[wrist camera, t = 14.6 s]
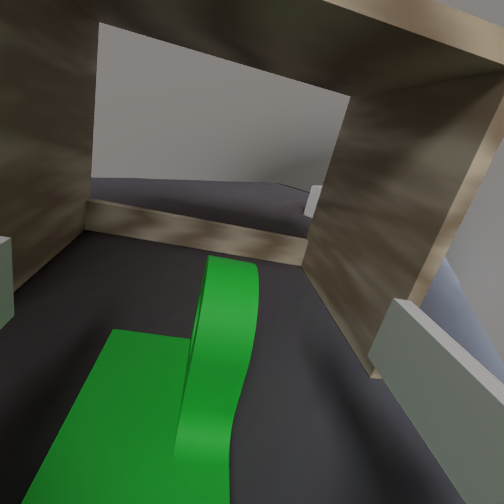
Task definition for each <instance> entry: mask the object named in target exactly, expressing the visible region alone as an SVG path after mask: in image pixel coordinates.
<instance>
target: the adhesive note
mask: <svg viewBox="0 0 504 504" xmlns="http://www.w3.org/2000/svg"><path fill="white" fill-rule="evenodd" d="M322 186H323V185H322ZM322 186H320V185H318V186H316V185H314V186H312V188H311V191H310V195H309V198H308V201H307V204H306V208H305V211H304V214H303V215H306V216H309V217H311V218H313V215H314V212H315V209H316V205H317V202H318V199H319V196H320V193H321V189H322Z"/></svg>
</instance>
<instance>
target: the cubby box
mask: <svg viewBox="0 0 504 504" xmlns="http://www.w3.org/2000/svg"><path fill="white" fill-rule="evenodd" d="M99 22H101V23H105V24H108V25H112V26H115V27H118V28H121V29H125V30H128V31H132V32H135V33H138V34H142V35H145V36H148V37H152V38H155V39H159V40H162V41H165V42H169V43H172V44H176V45H179V46H182V47H186V48H189V49H193V50H196V51H199V52H203V53H206V54H209V55H213V56H216V57H219V58H223V59H226V60H230V61H233V62H237V63H240V64H243V65H247V66H250V67H253V68H257V69H260V70H263V71H267V72H270V73H274V74H277V75H280V76H284V77H287V78H291V79H294V80H297V81H301V82H304V83H308V84H311V85H314V86H318V87H321V88H325V89H328V90H332V91H335V92H338V93H341V94H345V95H348V96H351V97H350V101H349V104H348V107H347V110H346V114H345V117H344V120H343V123H342V126H341V129H340V132H339V136H338V139H337V142H336V145H335V148H334V151H333V155H332V158H331V161H330V164H329V168H328V170H327V174H326V177H325V180H324V183H323V186H322V189H321V193H320V196H319V199H318V202H317V205H316V209H315V212H314V215H313V218H312V221H311V224H310V228H309V231H308V234H307V237H306V239H304V238H299V237H293V236H288V235H283V234H277V233H272V232H267V231H261V230H256V229H251V228H246V227H240V226H235V225H230V224H224V223H219V222H214V221H209V220H203V219H198V218H193V217H187V216H182V215H177V214H171V213H166V212H161V211H156V210H150V209H145V208H140V207H134V206H129V205H124V204H119V203H113V202H108V201H103V200H97V199H92V198H90V186H91V167H92V146H93V126H94V108H95V89H96V69H97V50H98V29H99ZM503 137H504V28H503V27H500V26H497V25H495V24H492V23H490V22H487V21H484V20H482V19H479V18H477V17H474V16H472V15H469V14H466V13H464V12H461V11H458V10H456V9H453V8H451V7H448V6H445V5H443V4H440V3H438V2H435V1H433V0H0V236H3V237H10V238H11V247H12V271H13V292H15V291H16V290H17V289H18V288H19V287H20V286H21V285H23V284H24V283H25V282H26V281H27V280H28V279H29V278H30V277H32V276H33V275H34V274H35V273H36V272H37V271H38V270H40V269H41V268H42V267H43V266H44V265H45V264H46V263H48V262H49V261H50V260H51V259H52V258H53V257H54V256H55V255H57V254H58V253H59V252H60V251H61V250H62V249H63V248H65V247H66V246H67V245H68V244H69V243H70V242H71V241H72V240H74V239H75V238H76V237H77V236H78V235H79V234H80V233H82V232H83V231H84V230H90V231H96V232H102V233H108V234H114V235H120V236H126V237H132V238H138V239H144V240H149V241H155V242H161V243H167V244H173V245H179V246H185V247H191V248H197V249H202V250H208V251H214V252H220V253H226V254H232V255H238V256H244V257H250V258H256V259H261V260H267V261H273V262H279V263H285V264H291V265H297V266H301V267H302V269H303V271H304V272H305V274H306V275H307V277H308V279H309V280H310V282H311V283H312V285H313V287H314V288H315V290H316V291H317V293H318V295H319V296H320V298H321V300H322V301H323V303H324V304H325V306H326V308H327V309H328V311H329V312H330V314H331V316H332V317H333V319H334V320H335V322H336V324H337V325H338V327H339V328H340V330H341V332H342V333H343V335H344V336H345V338H346V340H347V341H348V343H349V345H350V346H351V348H352V349H353V351H354V353H355V354H356V356H357V357H358V359H359V361H360V362H361V364H362V365H363V367H364V369H365V370H366V372H367V373H368V375H369V377H370V378H376V379H382V377H381V376H380V374H379V373H378V371H377V370H376V368H375V367H374V365H373V364H372V362H371V361H370V359H369V358H368V356H367V355H368V353H369V350H370V348H371V346H372V344H373V342H374V339H375V337H376V335H377V333H378V331H379V328H380V326H381V324H382V322H383V320H384V317H385V315H386V313H387V311H388V309H389V306H390V304H391V302H392V300H393V298H396V299H402V300H409V301H411V302H413V303H414V304H415V305H416V306H417V307H418V308H419V307H420V305H421V303H422V301H423V299H424V297H425V295H426V293H427V291H428V289H429V287H430V285H431V283H432V281H433V279H434V277H435V275H436V273H437V271H438V269H439V266H440V264H441V262H442V260H443V258H444V256H445V254H446V252H447V250H448V248H449V246H450V244H451V242H452V240H453V238H454V236H455V234H456V232H457V230H458V228H459V226H460V224H461V222H462V220H463V218H464V216H465V214H466V212H467V209H468V208H469V206H470V204H471V202H472V200H473V197H474V195H475V193H476V191H477V189H478V187H479V185H480V183H481V181H482V179H483V177H484V175H485V173H486V171H487V169H488V167H489V165H490V163H491V161H492V159H493V157H494V155H495V153H496V151H497V149H498V147H499V145H500V143H501V141H502V139H503Z"/></svg>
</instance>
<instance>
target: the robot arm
mask: <svg viewBox="0 0 504 504" xmlns="http://www.w3.org/2000/svg"><path fill="white" fill-rule="evenodd" d="M13 316H14V295H13V271H12V247H11V238H10V237H3V236H0V329H1V328H2V327H3V326H4V325H5V324H6V323H7V322H8V321H9V320H10V319H11V318H12V317H13ZM367 356H368V358H369V359H370V361H371V362H372V364H373V365H374V367H375V368H376V370H377V371H378V373H379V374H380V376H381V377H382V379H383V380H384V382H385V383H386V385H387V386H388V388H389V389H390V391H391V392H392V394H393V395H394V397H395V398H396V400H397V401H398V403H399V404H400V406H401V407H402V409H403V410H404V412H405V413H406V415H407V416H408V418H409V419H410V421H411V422H412V424H413V425H414V427H415V428H416V430H417V431H418V433H419V434H420V436H421V437H422V439H423V440H424V442H425V443H426V445H427V446H428V448H429V449H430V451H431V452H432V454H433V455H434V457H435V458H436V460H437V461H438V463H439V464H440V466H441V467H442V469H443V470H444V472H445V473H446V475H447V476H448V478H449V479H450V481H451V482H452V484H453V485H454V486H455V488H456V489H457V491H458V492H459V494H460V495H461V497H462V498H463V500H464V501H465V503H466V504H504V384H503V383H501V382H500V381H499V380H498V379H497V378H496V377H495V376H494V375H493V374H491V373H490V372H489V371H488V370H487V369H486V368H485V367H484V366H483V365H481V364H480V363H479V362H478V361H477V360H476V359H475V358H474V357H473V356H471V355H470V354H469V353H468V352H467V351H466V350H465V349H464V348H463V347H461V346H460V345H459V344H458V343H457V342H456V341H455V340H454V339H453V338H451V337H450V336H449V335H448V334H447V333H446V332H445V331H444V330H443V329H441V328H440V327H439V326H438V325H437V324H436V323H435V322H434V321H433V320H431V319H430V318H429V317H428V316H427V315H426V314H425V313H424V312H423V311H421V310H420V309H419V308H418V307H417V306H416V305H415V304H414V303H413V302H411V301H409V300H402V299H396V298H393V300H392V302H391V304H390V306H389V309H388V311H387V313H386V315H385V317H384V320H383V322H382V324H381V326H380V328H379V331H378V333H377V335H376V337H375V339H374V342H373V344H372V346H371V348H370V350H369V353H368V355H367Z"/></svg>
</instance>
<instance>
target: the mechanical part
mask: <svg viewBox="0 0 504 504" xmlns="http://www.w3.org/2000/svg"><path fill="white" fill-rule="evenodd" d="M258 300H259V277H258V270H257V266H256V265H255V264H254V263H249V262H244V261H238V260H233V259H227V258H222V257H216V256H211V255H208V257H207V261H206V265H205V269H204V274H203V278H202V283H201V288H200V293H199V298H198V303H197V308H196V313H195V318H194V323H193V328H192V333H191V338H190V339H185V338H178V337H171V336H163V335H156V334H149V333H141V332H134V331H126V330H119V329H113V330H112V332H111V334H110V336H109V338H108V340H107V342H106V344H105V345H104V347H103V349H102V351H101V353H100V355H99V357H98V359H97V361H96V363H95V364H94V366H93V368H92V370H91V372H90V374H89V376H88V378H87V380H86V382H85V383H84V385H83V387H82V389H81V391H80V393H79V395H78V397H77V399H76V401H75V402H74V404H73V406H72V408H71V410H70V412H69V414H68V416H67V418H66V420H65V421H64V423H63V425H62V427H61V429H60V431H59V433H58V435H57V437H56V439H55V440H54V442H53V444H52V446H51V448H50V450H49V452H48V454H47V456H46V458H45V459H44V461H43V463H42V465H41V467H40V469H39V471H38V473H37V475H36V477H35V478H34V480H33V482H32V484H31V486H30V488H29V490H28V492H27V494H26V496H25V497H24V499H23V501H22V503H21V504H230V490H229V447H230V436H231V429H232V423H233V418H234V414H235V410H236V407H237V404H238V400H239V397H240V393H241V390H242V386H243V383H244V380H245V376H246V373H247V369H248V365H249V361H250V357H251V352H252V347H253V342H254V336H255V329H256V322H257V313H258Z"/></svg>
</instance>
